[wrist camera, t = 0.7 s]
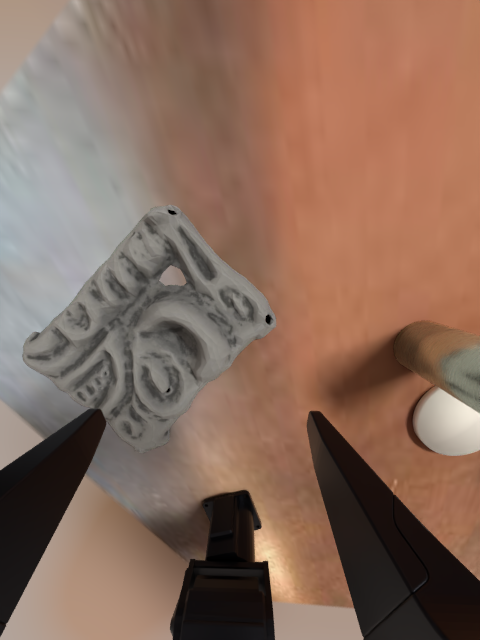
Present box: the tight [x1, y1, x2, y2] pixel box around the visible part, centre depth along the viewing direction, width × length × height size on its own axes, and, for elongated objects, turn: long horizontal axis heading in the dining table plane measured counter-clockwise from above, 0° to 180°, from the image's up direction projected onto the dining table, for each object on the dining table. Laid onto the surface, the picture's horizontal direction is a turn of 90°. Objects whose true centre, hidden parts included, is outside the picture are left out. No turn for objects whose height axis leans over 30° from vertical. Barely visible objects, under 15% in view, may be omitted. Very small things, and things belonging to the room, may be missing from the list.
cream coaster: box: [413, 386, 480, 456], centre depth 25 cm, size 10×10×1 cm
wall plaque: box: [23, 205, 276, 453], centre depth 23 cm, size 24×19×4 cm
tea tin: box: [394, 321, 480, 413], centre depth 19 cm, size 6×6×10 cm
